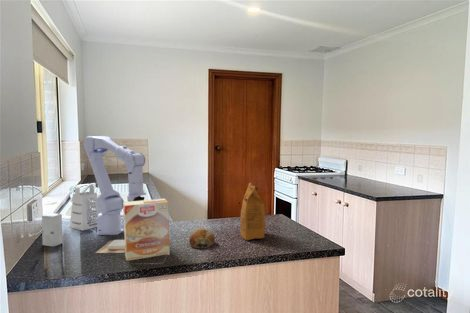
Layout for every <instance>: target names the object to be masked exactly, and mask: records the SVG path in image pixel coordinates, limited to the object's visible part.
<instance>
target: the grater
mask: <svg viewBox="0 0 470 313" xmlns="http://www.w3.org/2000/svg"><path fill="white" fill-rule="evenodd" d="M84 186H88V187H89V191H86V192H81V191H80V190H81V187H84ZM74 191H75V192H74V193H73V194H72V201H71V202H72V204H71V211H70V222H69V228H70V229H75V230H79V231H87V230H89V229H93V228H97V216H98V214H99V213H101V212H100V211H99V209H98V201H97V199H98V193H97V192H95V186H94V184H92V183H84V184H83V183H82V184H76V186H75V188H74Z"/></svg>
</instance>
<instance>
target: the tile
mask: <svg viewBox="0 0 470 313" xmlns="http://www.w3.org/2000/svg"><path fill="white" fill-rule="evenodd" d="M107 248H108V250H125V239H114V241H113V242H112V243H110V244H109V245H108V246H107Z"/></svg>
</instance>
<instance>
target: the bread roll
mask: <svg viewBox="0 0 470 313" xmlns="http://www.w3.org/2000/svg"><path fill="white" fill-rule="evenodd" d="M215 239H216V238H215V235H214V232H212V231H211V230H209V229H207V228H197V229H196V230H194V231H193V232H192V233H191V234H190V236H189V239H188V241H189V246H190V247H191V248H194V249H206V248H209V247H212V246H214V244H215Z"/></svg>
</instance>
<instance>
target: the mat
mask: <svg viewBox="0 0 470 313" xmlns="http://www.w3.org/2000/svg"><path fill="white" fill-rule="evenodd" d="M114 240H115V239H114ZM114 240H112V239H111V240H109V241H108V242H106V243H105V244H104V245H103V246H102V247H100V248H99V249H98V250H97V251H95V252H94V254H118V253H119V254H120V253H121V254H122V253H123V254H125V250H108V248H107V246H108V245H109V244H110V243H112V242H113V241H114Z"/></svg>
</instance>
